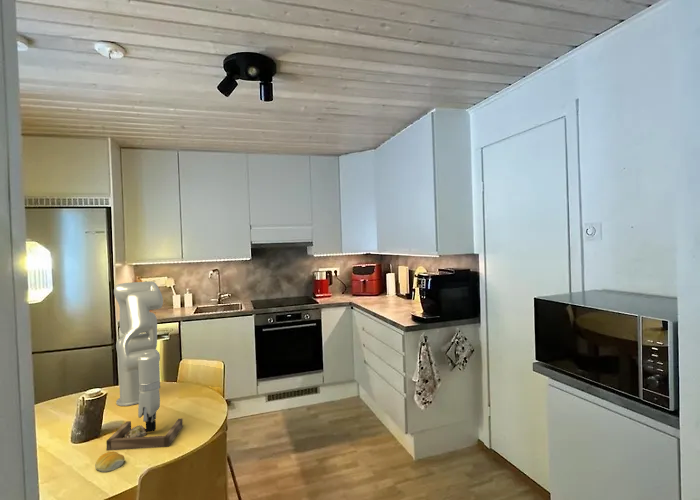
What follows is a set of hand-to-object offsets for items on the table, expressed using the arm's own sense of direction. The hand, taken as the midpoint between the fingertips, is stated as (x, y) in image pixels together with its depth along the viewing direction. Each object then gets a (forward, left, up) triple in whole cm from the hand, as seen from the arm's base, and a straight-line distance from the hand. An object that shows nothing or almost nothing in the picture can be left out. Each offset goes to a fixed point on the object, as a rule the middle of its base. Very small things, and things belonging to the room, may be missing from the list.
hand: (151, 430), depth 160 cm
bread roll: (+22, -5, -1) cm, 23 cm away
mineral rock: (+2, -5, -1) cm, 6 cm away
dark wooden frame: (+4, 0, -1) cm, 4 cm away
